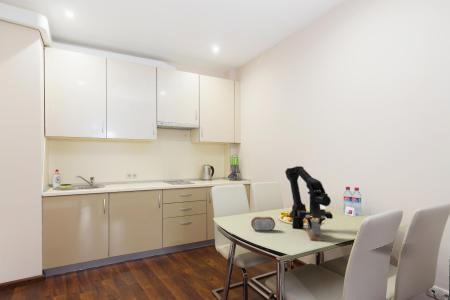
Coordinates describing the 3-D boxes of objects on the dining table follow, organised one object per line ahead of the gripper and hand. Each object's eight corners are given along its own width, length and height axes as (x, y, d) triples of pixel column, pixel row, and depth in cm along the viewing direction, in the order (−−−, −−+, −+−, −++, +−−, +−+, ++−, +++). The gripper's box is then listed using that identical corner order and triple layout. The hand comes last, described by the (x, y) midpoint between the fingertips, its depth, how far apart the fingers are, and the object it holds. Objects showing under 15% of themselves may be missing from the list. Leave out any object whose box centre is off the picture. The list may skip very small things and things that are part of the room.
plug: (312, 234, 143) (313, 225, 143) (309, 227, 155) (309, 219, 155) (320, 234, 143) (320, 225, 142) (316, 227, 154) (316, 219, 154)
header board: (310, 240, 142) (310, 229, 142) (305, 229, 161) (305, 220, 161) (323, 241, 141) (323, 230, 141) (317, 230, 159) (317, 220, 159)
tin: (274, 229, 161) (274, 216, 161) (275, 231, 158) (275, 217, 158) (250, 229, 161) (251, 216, 161) (251, 231, 158) (251, 217, 158)
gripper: (300, 204, 142) (299, 232, 142) (335, 206, 139) (335, 234, 139) (297, 200, 153) (297, 226, 153) (330, 202, 150) (330, 228, 150)
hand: (314, 229), depth 149 cm, fingers closed on plug, 4 cm apart
